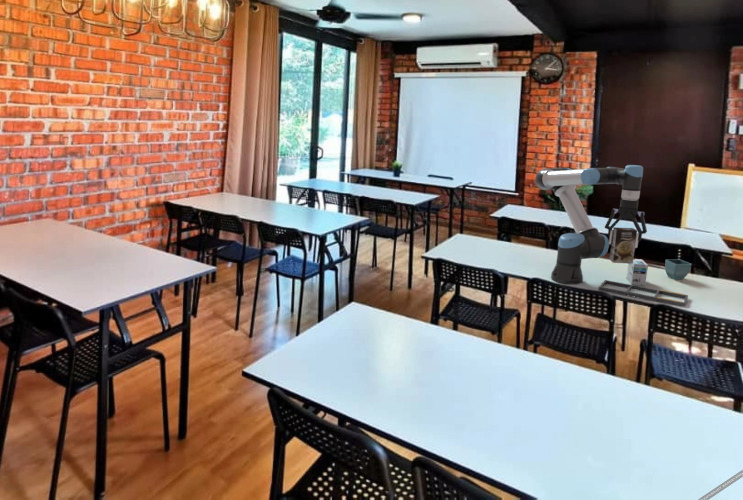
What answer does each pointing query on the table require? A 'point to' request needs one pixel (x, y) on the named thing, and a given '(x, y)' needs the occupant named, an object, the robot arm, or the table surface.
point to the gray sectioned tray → (646, 291)
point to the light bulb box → (637, 272)
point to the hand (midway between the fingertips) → (623, 245)
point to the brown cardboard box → (623, 245)
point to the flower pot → (677, 268)
